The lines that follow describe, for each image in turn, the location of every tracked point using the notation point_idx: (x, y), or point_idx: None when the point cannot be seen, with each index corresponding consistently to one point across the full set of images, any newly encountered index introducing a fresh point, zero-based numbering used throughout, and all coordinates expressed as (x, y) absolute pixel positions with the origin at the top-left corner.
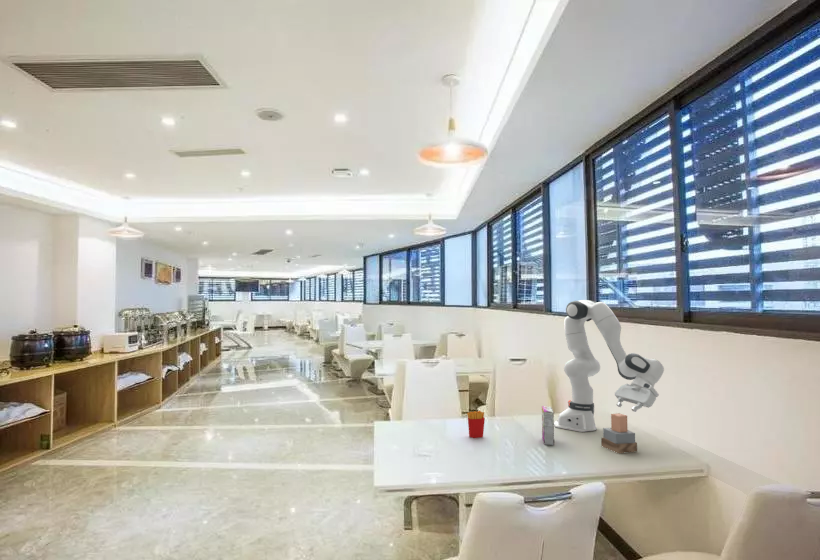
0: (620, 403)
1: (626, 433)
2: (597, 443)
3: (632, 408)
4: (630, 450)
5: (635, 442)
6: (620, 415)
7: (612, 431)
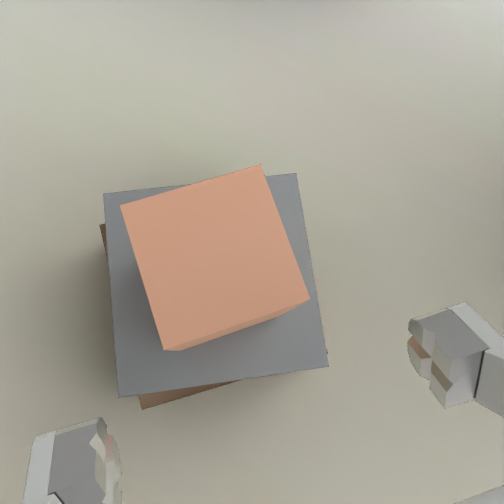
0: (442, 365)
1: (118, 304)
2: (323, 202)
3: (76, 434)
4: None
5: (148, 399)
6: (175, 251)
7: None
